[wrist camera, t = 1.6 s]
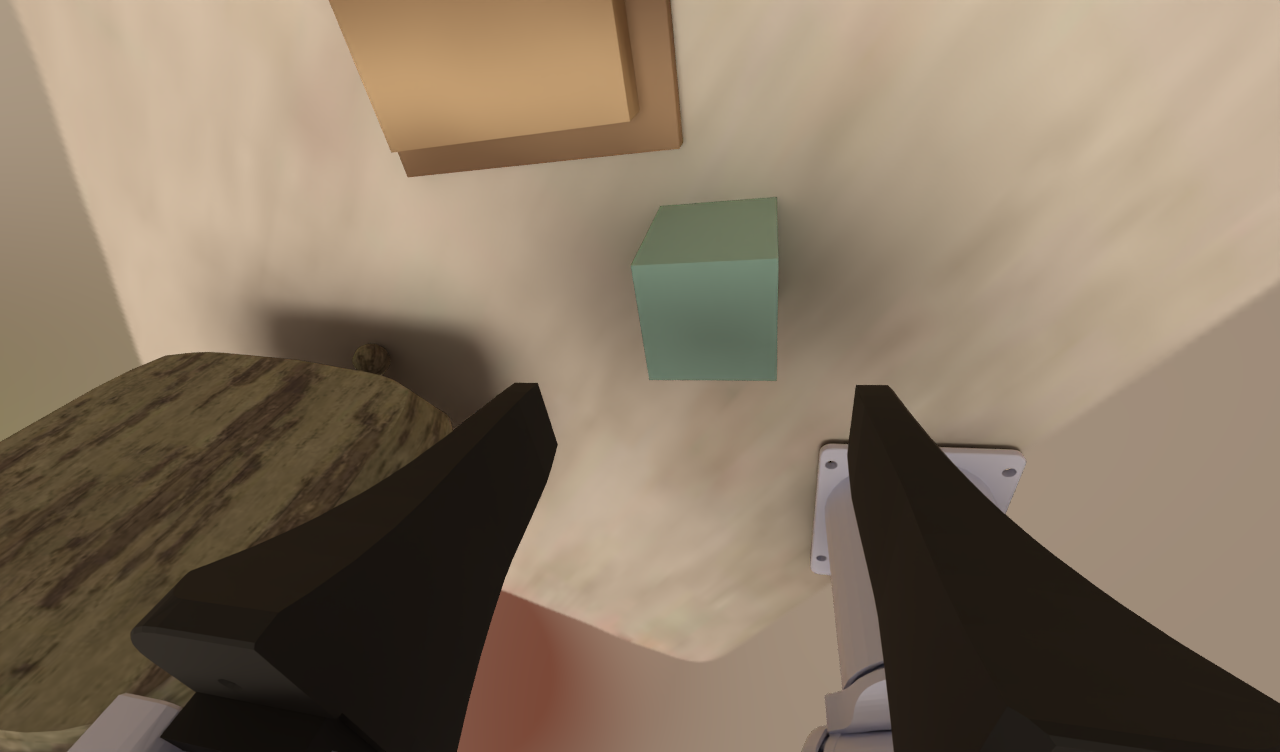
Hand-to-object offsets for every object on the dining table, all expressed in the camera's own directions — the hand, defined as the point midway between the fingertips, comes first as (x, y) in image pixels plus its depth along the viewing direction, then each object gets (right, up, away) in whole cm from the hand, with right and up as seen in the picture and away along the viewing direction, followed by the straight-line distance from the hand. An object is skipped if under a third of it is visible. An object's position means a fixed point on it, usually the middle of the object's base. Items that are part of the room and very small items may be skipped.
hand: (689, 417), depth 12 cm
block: (+2, +5, +7) cm, 9 cm away
